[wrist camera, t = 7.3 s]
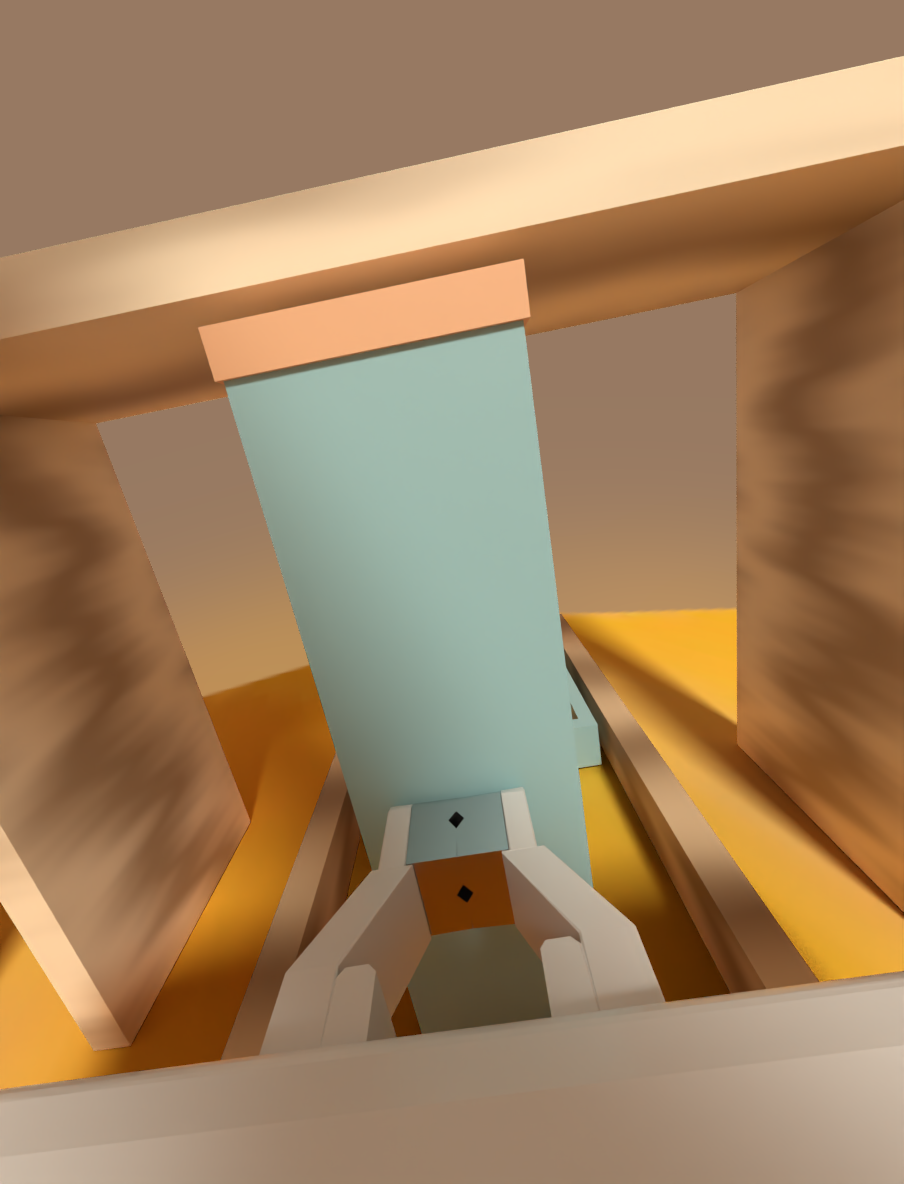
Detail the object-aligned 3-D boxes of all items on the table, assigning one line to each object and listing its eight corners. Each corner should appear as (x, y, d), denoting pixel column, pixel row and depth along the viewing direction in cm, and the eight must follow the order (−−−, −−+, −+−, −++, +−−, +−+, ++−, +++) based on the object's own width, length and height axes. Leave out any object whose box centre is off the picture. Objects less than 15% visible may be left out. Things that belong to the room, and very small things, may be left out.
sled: (725, 1015, 12) (714, 218, 7) (319, 1069, 12) (26, 364, 7) (551, 662, 32) (515, 393, 27) (398, 688, 33) (335, 429, 28)
